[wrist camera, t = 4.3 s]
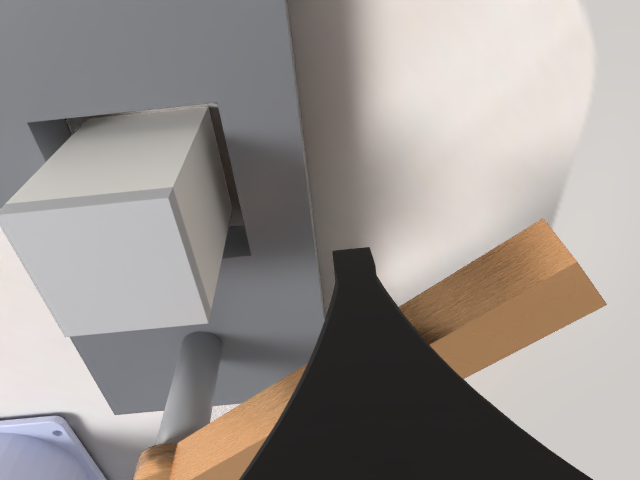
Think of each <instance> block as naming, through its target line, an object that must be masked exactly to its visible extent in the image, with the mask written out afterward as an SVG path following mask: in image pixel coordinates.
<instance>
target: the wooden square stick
mask: <svg viewBox="0 0 640 480" xmlns="http://www.w3.org/2000/svg"><path fill="white" fill-rule="evenodd" d="M605 305H607V304H606V302H605V301H604V300H603V298H602V297H601V295H600V294H599V292H598V291H597V290H596V288H595V287H594V285H593V284H592V282H591V281H590V279H589V278H588V277H587V275H586V274H585V272H584V271H583V270H582V268H581V267H580V265H579V264H578V262H577V261H576V260H575V258H574V257H573V256H572V255H571V253H570V252H569V251H568V249H567V248H566V247H565V246H564V244H563V243H562V242H561V241H560V239H559V238H558V237H557V235H556V234H555V233H554V232H553V230H552V229H551V228H550V227H549V225H548V224H547V223H546V221H545V220H544V219H541V220H540V221H538V222H537V223H535V224H533V225H532V226H530V227H528V228H527V229H525V230H524V231H522V232H520V233H519V234H517V235H515V236H514V237H512V238H510V239H509V240H507V241H506V242H504V243H502V244H501V245H499V246H497V247H496V248H494V249H493V250H491V251H489V252H488V253H486V254H484V255H483V256H481V257H480V258H478V259H476V260H475V261H473V262H471V263H470V264H468V265H467V266H465V267H463V268H462V269H460V270H458V271H457V272H455V273H454V274H452V275H450V276H449V277H447V278H445V279H444V280H442V281H441V282H439V283H437V284H436V285H434V286H432V287H431V288H429V289H428V290H426V291H424V292H423V293H421V294H419V295H418V296H416V297H414V298H413V299H411V300H410V301H408V302H406V303H405V304H403V305H401V306H400V307H399V309H400V310H401V312H402V313H403V314H404V315H405V317H406V318H407V319H408V320H409V322H410V323H411V324H412V325H413V327H414V328H415V329H416V330H417V331H418V332H419V334H420V335H421V336H422V337H423V338H424V339H425V341H426V342H427V343H428V344H429V345H430V346H431V347H432V348H433V349H434V350H435V352H436V353H437V354H438V355H439V356H440V357H441V358H442V359H443V360H444V361H445V362H446V363H447V364H448V365H449V366H450V367H451V368H452V369H453V370H454V371H455V372H456V373H457V374H458V375H459V376H460V377H462V378H463V379H464V378H466V377H468V376H470V375H472V374H474V373H476V372H478V371H480V370H482V369H484V368H486V367H487V366H489V365H491V364H493V363H495V362H497V361H499V360H501V359H503V358H505V357H507V356H509V355H511V354H513V353H514V352H516V351H518V350H520V349H522V348H524V347H526V346H528V345H530V344H532V343H534V342H536V341H537V340H540V339H542V338H543V337H545V336H547V335H549V334H551V333H553V332H555V331H557V330H559V329H561V328H563V327H565V326H567V325H569V324H571V323H572V322H574V321H576V320H578V319H580V318H582V317H584V316H586V315H588V314H590V313H592V312H594V311H596V310H598V309H599V308H601V307H603V306H605ZM307 364H308V363H307ZM307 364H305V365H304V366H302V367H301V368H299V369H297V370H296V371H294V372H292V373H291V374H289V375H288V376H286V377H284V378H283V379H281V380H279V381H278V382H276V383H275V384H273V385H271V386H270V387H268V388H266V389H265V390H263V391H262V392H260V393H258V394H257V395H255V396H253V397H252V398H250V399H249V400H247V401H245V402H244V403H242V404H240V405H239V406H237V407H236V408H234V409H232V410H231V411H229V412H227V413H226V414H224V415H222V416H221V417H219V418H218V419H216V420H214V421H213V422H211V423H209V424H208V425H206V426H205V427H203V428H201V429H200V430H198V431H196V432H195V433H193V434H192V435H190V436H188V437H187V438H185V439H183V440H182V441H180V442H179V443H165V444H159V445H155V446H152V447H150V448H148V449H146V450H145V451H143V452H142V453H141V454H140V456H139V458H138V462H137V465H136V469H135V472H134V476H133V479H132V480H239V479H240V477H241V476H242V474H243V473H244V472H245V470H246V469H247V467H248V466H249V464H250V463H251V461H252V460H253V458H254V457H255V455H256V454H257V452H258V451H259V449H260V447H261V446H262V444H263V443H264V441H265V440H266V438H267V437H268V435H269V434H270V432H271V431H272V429H273V428H274V426H275V424H276V423H277V421H278V419H279V417H280V416H281V414H282V412H283V411H284V409H285V407H286V405H287V403H288V401H289V400H290V398H291V396H292V394H293V392H294V390H295V389H296V387H297V385H298V383H299V381H300V379H301V377H302V375H303V372H304V370H305V368H306V366H307Z"/></svg>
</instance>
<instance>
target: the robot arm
mask: <svg viewBox="0 0 640 480" xmlns="http://www.w3.org/2000/svg"><path fill="white" fill-rule="evenodd" d="M333 261H334V271H335V281H336V282H335V287H334V291H333V295H332V298H331V302H330V305H329V309H328V312H327V316H326V319H325V321H324V324H323V327H322V329H321V332H320V335H319V338H318V340H317V343H316V346H315V348H314V350H313V353H312V355H311V357H310V360H309V362H308V364H307V366H306V368H305V370H304V372H303V375H302V377H301V379H300V381H299V383H298V385H297V387H296V389H295V390H294V392H293V394H292V396H291V398H290V400H289V401H288V403H287V405H286V407H285V409H284V411H283V412H282V414H281V416H280V417H279V419H278V421H277V423H276V424H275V426H274V428H273V429H272V431H271V432H270V434H269V435H268V437H267V438H266V440H265V441H264V443H263V444H262V446H261V447H260V449H259V451H258V452H257V454H256V455H255V457H254V458H253V460H252V461H251V463H250V464H249V466H248V467H247V469H246V470H245V472H244V473H243V474H242V476H241V477H240V479H239V480H593V479H591V478H590V477H588V476H587V475H585V474H584V473H582V472H581V471H579V470H578V469H576V468H575V467H573V466H572V465H571V464H569V463H568V462H566V461H565V460H563V459H562V458H561V457H559V456H557V455H556V454H555V453H553V452H552V451H551V450H549V449H548V448H547V447H545V446H544V445H542V444H541V443H540V442H538V441H537V440H536V439H535V438H533V437H532V436H531V435H529V434H528V433H527V432H525V431H524V430H523V429H521V428H520V427H519V426H517V425H516V424H515V423H514V422H513V421H511V420H510V419H509V418H508V417H507V416H505V415H504V414H503V413H502V412H500V411H499V410H498V409H497V408H496V407H494V406H493V405H492V404H491V403H490V402H489V401H487V400H486V399H485V398H484V397H483V396H481V395H480V394H479V393H478V392H477V391H475V390H474V389H473V388H472V387H471V386H470V385H469V384H468V383H467V382H466V381H465V380H464V379H463V378H462V377H460V376H459V375H458V374H457V373H456V372H455V371H454V370H453V369H452V368H451V367H450V366H449V365H448V364H447V363H446V362H445V361H444V360H443V359H442V358H441V357H440V356H439V355H438V354H437V353H436V352H435V350H434V349H433V348H432V347H431V346H430V345H429V344H428V343H427V342H426V341H425V339H424V338H423V337H422V336H421V335H420V334H419V332H418V331H417V330H416V329H415V328H414V327H413V325H412V324H411V323H410V322H409V320H408V319H407V318H406V317H405V315H404V314H403V313H402V312H401V310H400V309H399V307H398V306H397V305H396V303H395V302H394V301H393V299H392V298H391V297H390V295H389V294H388V292H387V291H386V289H385V288H384V286H383V285H382V283H381V282H380V280H379V279H378V277H377V275H376V268H375V263H374V260H373V257H372V254H371V251H370V248H369V247H366V248H356V249H347V250H337V251H333ZM0 480H106V478H105V477H104V475H103V474H102V472H101V471H100V470H99V468H98V467H97V465H96V464H95V462H94V461H93V459H92V458H91V456H90V455H89V454H88V452H87V451H86V449H85V448H84V446H83V445H82V443H81V442H80V441H79V439H78V438H77V436H76V435H75V433H74V432H73V430H72V429H71V427H70V426H69V425H68V423H67V422H66V420H65V419H64V418H62V417H59V416H46V417H35V418H24V419H13V420H2V421H0Z"/></svg>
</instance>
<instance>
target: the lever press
mask: <svg viewBox="0 0 640 480" xmlns="http://www.w3.org/2000/svg"><path fill="white" fill-rule="evenodd" d="M208 103H217V104H218V109H219V113H220V118H221V122H222V127H223V131H224V135H225V140H226V144H227V149H228V153H229V158H230V162H231V167H232V171H233V176H234V180H235V185H236V189H237V194H238V198H239V203H240V207H241V212H242V216H243V221H244V225H243V226H233V227H228V232H227V237H226V242H225V246H224V251H223V256H222V261H221V266H220V270H219V275H218V280H217V285H216V289H215V294H214V299H213V304H212V309H211V313H210V318H209V323H207V324H196V325H186V326H175V327H165V328H154V329H144V330H133V331H123V332H112V333H102V334H91V335H81V336H70V339H71V340H72V342H73V344H74V345H75V347H76V349H77V351H78V352H79V354H80V356H81V358H82V359H83V361H84V363H85V364H86V366H87V368H88V370H89V371H90V373H91V375H92V377H93V378H94V380H95V382H96V383H97V385H98V387H99V389H100V390H101V392H102V394H103V396H104V397H105V399H106V401H107V402H108V404H109V406H110V408H111V409H112V411H113V413H114V414H115V415H120V414H131V413H142V412H153V411H164V414H163V418H162V422H161V426H160V430H159V433H158V437H157V441H156V445H159V444H165V443H179V442H180V441H182V440H183V439H185V438H187V437H188V436H190V435H192V434H193V433H195V432H196V431H198V430H200V429H201V428H203V427H205V426H206V425H208V424H209V423H210V418H211V412H212V406H218V405H229V404H240V403H244V402H245V401H247V400H249V399H250V398H252V397H253V396H255V395H257V394H258V393H260V392H262V391H263V390H265V389H266V388H268V387H270V386H271V385H273V384H275V383H276V382H278V381H279V380H281V379H283V378H284V377H286V376H288V375H289V374H291V373H292V372H294V371H296V370H297V369H299V368H301V367H302V366H304V365H305V364H307V363H308V362H309V360H310V357H311V355H312V353H313V350H314V348H315V346H316V343H317V340H318V338H319V335H320V332H321V329H322V327H323V324H324V321H325V311H324V303H323V295H322V286H321V278H320V270H319V261H318V253H317V245H316V236H315V228H314V220H313V211H312V203H311V195H310V186H309V178H308V170H307V161H306V153H305V145H304V136H303V128H302V120H301V111H300V103H299V95H298V86H297V78H296V70H295V61H294V53H293V45H292V36H291V28H290V20H289V11H288V3H287V0H0V209H1V208H2V207H3V206H4V205H5V204H6V203H7V202H8V201H9V200H10V198H11V197H12V196H13V195H14V194H15V193H16V192H17V191H18V190H19V189H20V188H21V187H22V186H23V185H24V184H25V183H26V182H27V181H28V180H29V179H30V178H31V177H32V176H33V175H34V174H35V173H36V172H37V171H38V170H39V169H40V168H41V167H42V166H43V165H44V164H45V163H46V162H47V160H48V159H49V158H50V157H51V156H52V155H53V154H54V153H55V152H56V151H57V150H58V149H59V148H60V147H61V146H62V145H63V144H64V143H65V142H66V141H67V140H68V139H69V138H70V137H71V133H70V131H69V129H68V126H67V124H66V122H65V119H66V118H75V117H85V116H94V115H104V114H113V113H123V112H132V111H142V110H151V109H161V108H170V107H180V106H189V105H199V104H208Z"/></svg>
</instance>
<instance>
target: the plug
mask: <svg viewBox="0 0 640 480" xmlns="http://www.w3.org/2000/svg"><path fill="white" fill-rule="evenodd" d="M231 213H232V206H231V201H230V197H229V193H228V188H227V184H226V180H225V176H224V171H223V167H222V163H221V159H220V154H219V150H218V146H217V141H216V137H215V133H214V129H213V124H212V120H211V116H210V111H209V107H208V106H204V107H194V108H185V109H175V110H165V111H156V112H146V113H136V114H126V115H117V116H107V117H97V118H88V119H87V120H86V121H85V122H84V123H83V125H82V126H81V127H80V128H79V129H78V130H77V131H76V132H75V133H74V134H73V135H72V136H71V137H70V138H69V139H68V140H67V141H66V142H65V143H64V144H63V145H62V146H61V147H60V148H59V149H58V150H57V151H56V152H55V153H54V154H53V155H52V156H51V157H50V158H49V159H48V160H47V162H46V163H45V164H44V165H43V166H42V167H41V168H40V169H39V170H38V171H37V172H36V173H35V174H34V175H33V176H32V177H31V178H30V179H29V180H28V181H27V182H26V183H25V184H24V185H23V186H22V187H21V188H20V189H19V190H18V191H17V192H16V193H15V194H14V195H13V196H12V197H11V198H10V200H9V201H8V202H7V203H6V204H5V205H4V206H3V207H2V208H1V209H0V226H1V228H2V230H3V232H4V233H5V235H6V237H7V238H8V240H9V242H10V244H11V245H12V247H13V249H14V250H15V252H16V254H17V256H18V257H19V259H20V261H21V262H22V264H23V266H24V268H25V269H26V271H27V273H28V274H29V276H30V278H31V280H32V281H33V283H34V285H35V286H36V288H37V290H38V292H39V293H40V295H41V297H42V298H43V300H44V302H45V304H46V305H47V307H48V309H49V310H50V312H51V314H52V316H53V317H54V319H55V321H56V322H57V324H58V326H59V328H60V329H61V331H62V333H63V334H64V336H65V337H70V336H81V335H91V334H102V333H112V332H123V331H133V330H144V329H154V328H165V327H175V326H186V325H196V324H207V323H209V318H210V313H211V309H212V304H213V299H214V294H215V289H216V285H217V280H218V275H219V270H220V266H221V261H222V256H223V251H224V246H225V242H226V237H227V232H228V227H229V223H230V218H231Z"/></svg>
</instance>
